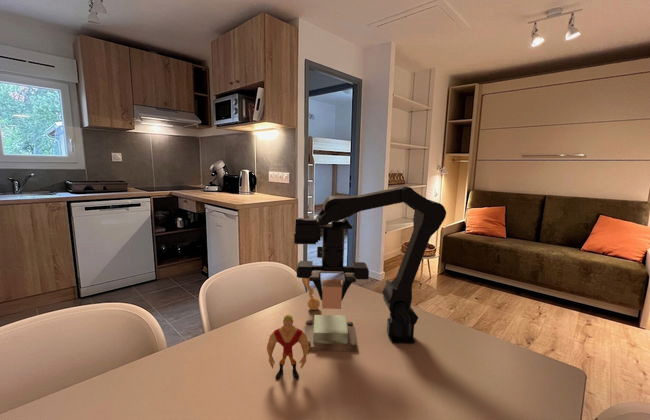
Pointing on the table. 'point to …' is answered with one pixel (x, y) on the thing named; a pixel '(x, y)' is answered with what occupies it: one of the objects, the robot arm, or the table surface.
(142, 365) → the table surface
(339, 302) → the terracotta brick
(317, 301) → the figurine
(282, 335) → the action figure
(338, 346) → the tower base
